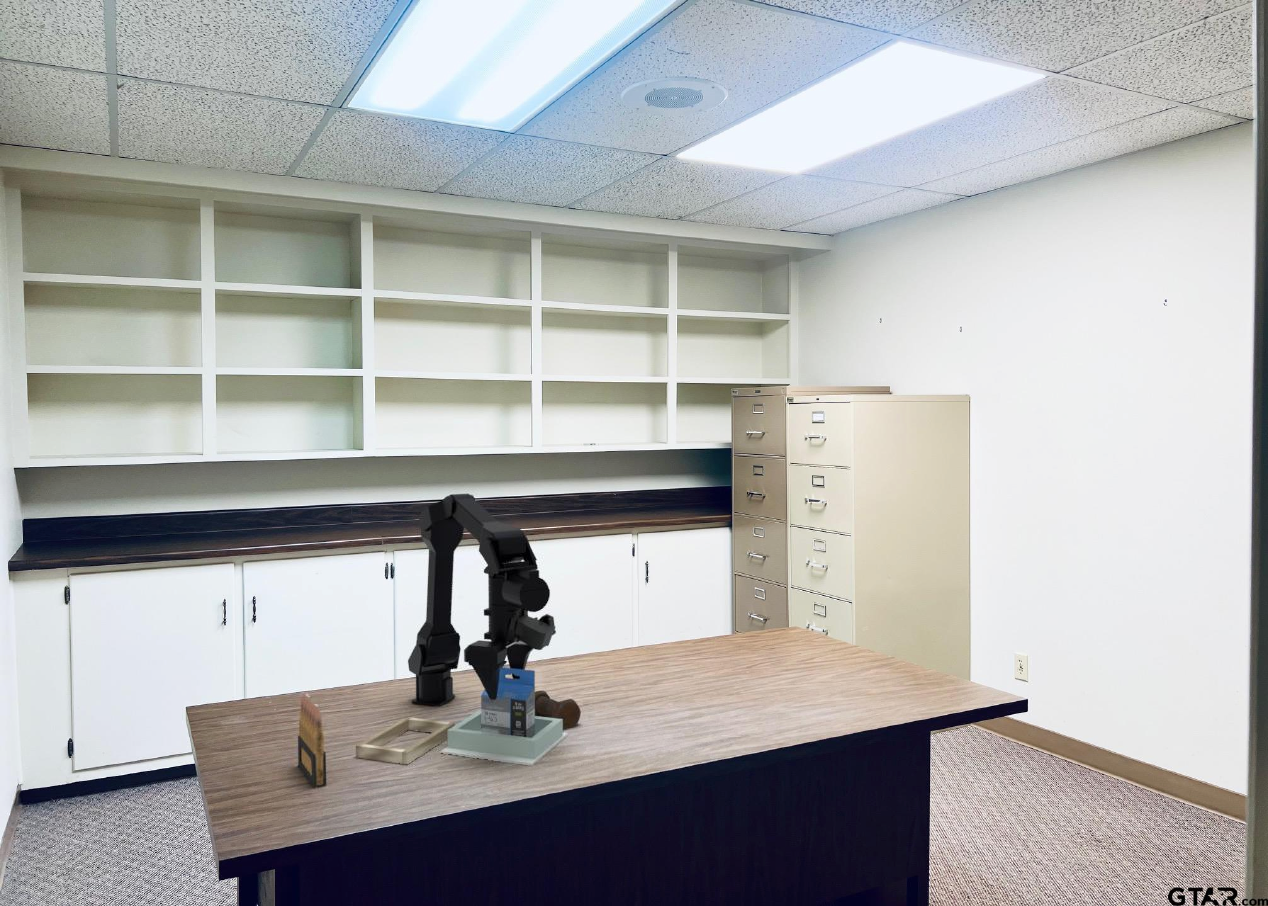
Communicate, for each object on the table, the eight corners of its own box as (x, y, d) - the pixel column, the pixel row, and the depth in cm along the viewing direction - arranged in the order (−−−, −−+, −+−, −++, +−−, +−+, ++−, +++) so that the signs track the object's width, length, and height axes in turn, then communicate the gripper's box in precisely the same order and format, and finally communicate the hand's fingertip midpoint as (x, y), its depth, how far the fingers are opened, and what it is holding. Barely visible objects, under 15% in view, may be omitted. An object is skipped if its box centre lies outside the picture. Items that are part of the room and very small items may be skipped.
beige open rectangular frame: (355, 757, 146) (355, 745, 146) (406, 728, 160) (406, 717, 160) (407, 764, 143) (407, 752, 143) (454, 734, 157) (454, 723, 157)
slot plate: (440, 753, 148) (440, 733, 148) (483, 724, 162) (483, 706, 162) (531, 766, 142) (531, 745, 142) (568, 735, 157) (568, 716, 156)
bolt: (530, 717, 172) (572, 735, 160) (510, 708, 170) (552, 727, 158) (542, 688, 174) (585, 705, 162) (523, 680, 171) (565, 695, 160)
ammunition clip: (297, 766, 143) (296, 693, 142) (309, 763, 144) (308, 691, 143) (314, 788, 134) (313, 710, 134) (326, 785, 135) (325, 708, 135)
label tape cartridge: (479, 742, 152) (479, 671, 152) (490, 734, 156) (490, 666, 155) (526, 748, 149) (525, 676, 149) (536, 740, 153) (535, 670, 152)
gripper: (523, 616, 140) (524, 713, 141) (569, 595, 158) (569, 681, 158) (461, 612, 144) (462, 706, 144) (513, 591, 161) (514, 675, 162)
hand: (505, 691), depth 152 cm, fingers open, 9 cm apart
